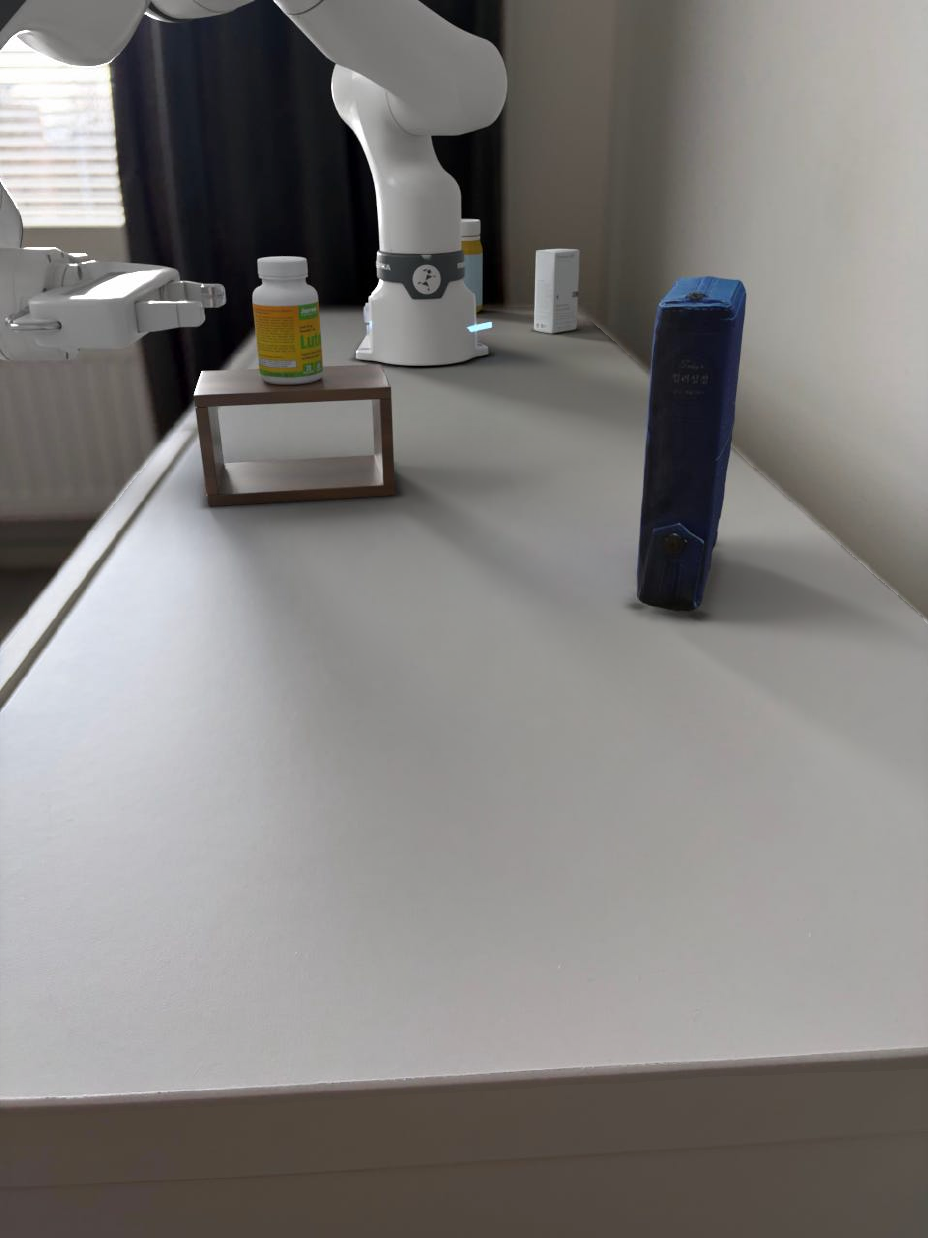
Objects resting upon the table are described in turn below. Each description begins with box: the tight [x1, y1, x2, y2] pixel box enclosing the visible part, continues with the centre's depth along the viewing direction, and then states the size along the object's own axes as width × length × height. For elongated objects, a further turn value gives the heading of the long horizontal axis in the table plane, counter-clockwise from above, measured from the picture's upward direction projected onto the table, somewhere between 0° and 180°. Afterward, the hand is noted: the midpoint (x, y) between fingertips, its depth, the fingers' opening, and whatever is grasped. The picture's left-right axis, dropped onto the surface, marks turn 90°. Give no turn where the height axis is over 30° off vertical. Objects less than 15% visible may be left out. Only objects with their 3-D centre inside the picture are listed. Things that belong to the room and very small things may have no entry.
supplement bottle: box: [252, 255, 324, 385], centre depth 80 cm, size 5×5×10 cm
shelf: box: [193, 363, 396, 507], centre depth 85 cm, size 9×16×10 cm, turn 100°
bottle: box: [461, 218, 484, 314], centre depth 168 cm, size 7×7×15 cm
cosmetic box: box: [533, 248, 581, 334], centre depth 152 cm, size 6×4×12 cm
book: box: [636, 275, 747, 613], centre depth 64 cm, size 14×5×20 cm, turn 163°
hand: (214, 304), depth 79 cm, fingers open, 8 cm apart
